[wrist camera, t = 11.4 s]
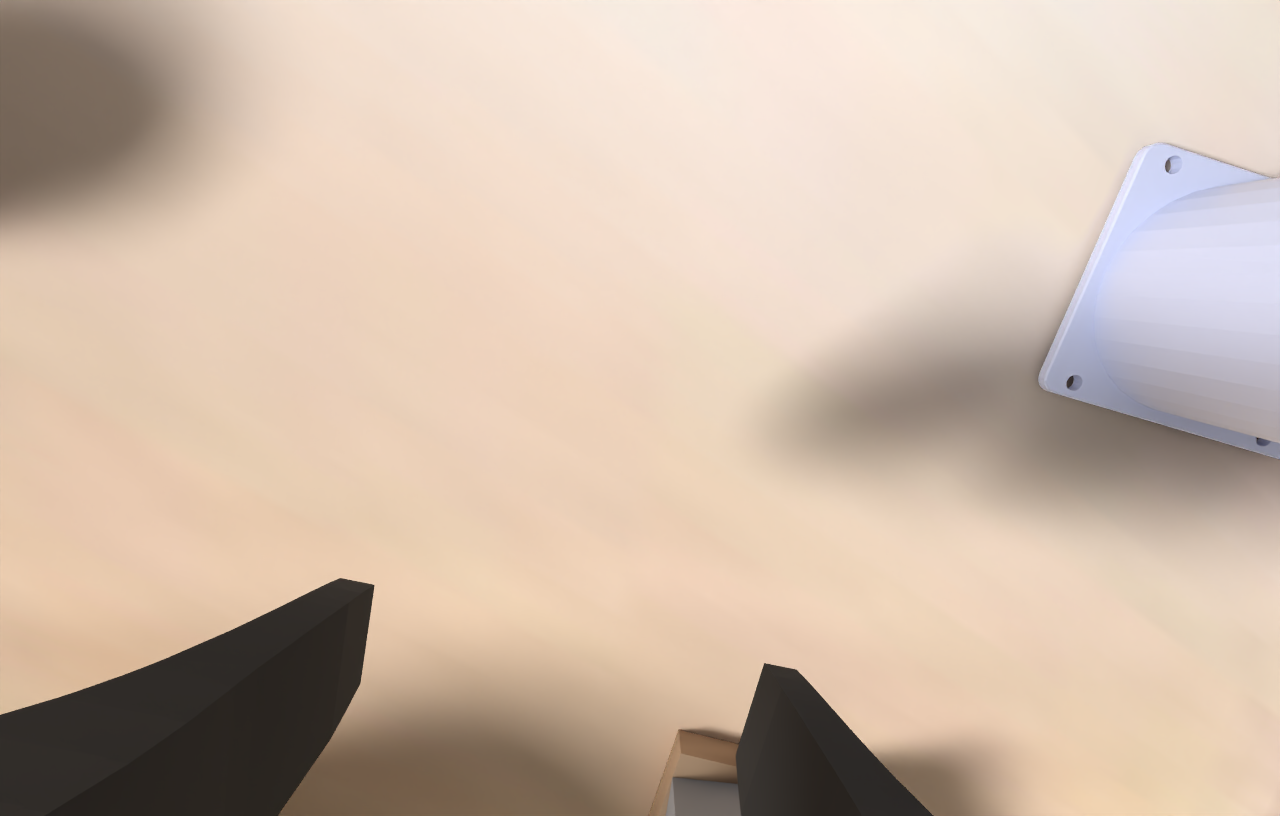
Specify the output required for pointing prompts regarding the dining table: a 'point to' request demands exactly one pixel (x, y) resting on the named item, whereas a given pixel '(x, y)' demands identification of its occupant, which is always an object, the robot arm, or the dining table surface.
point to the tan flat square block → (696, 764)
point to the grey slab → (702, 798)
